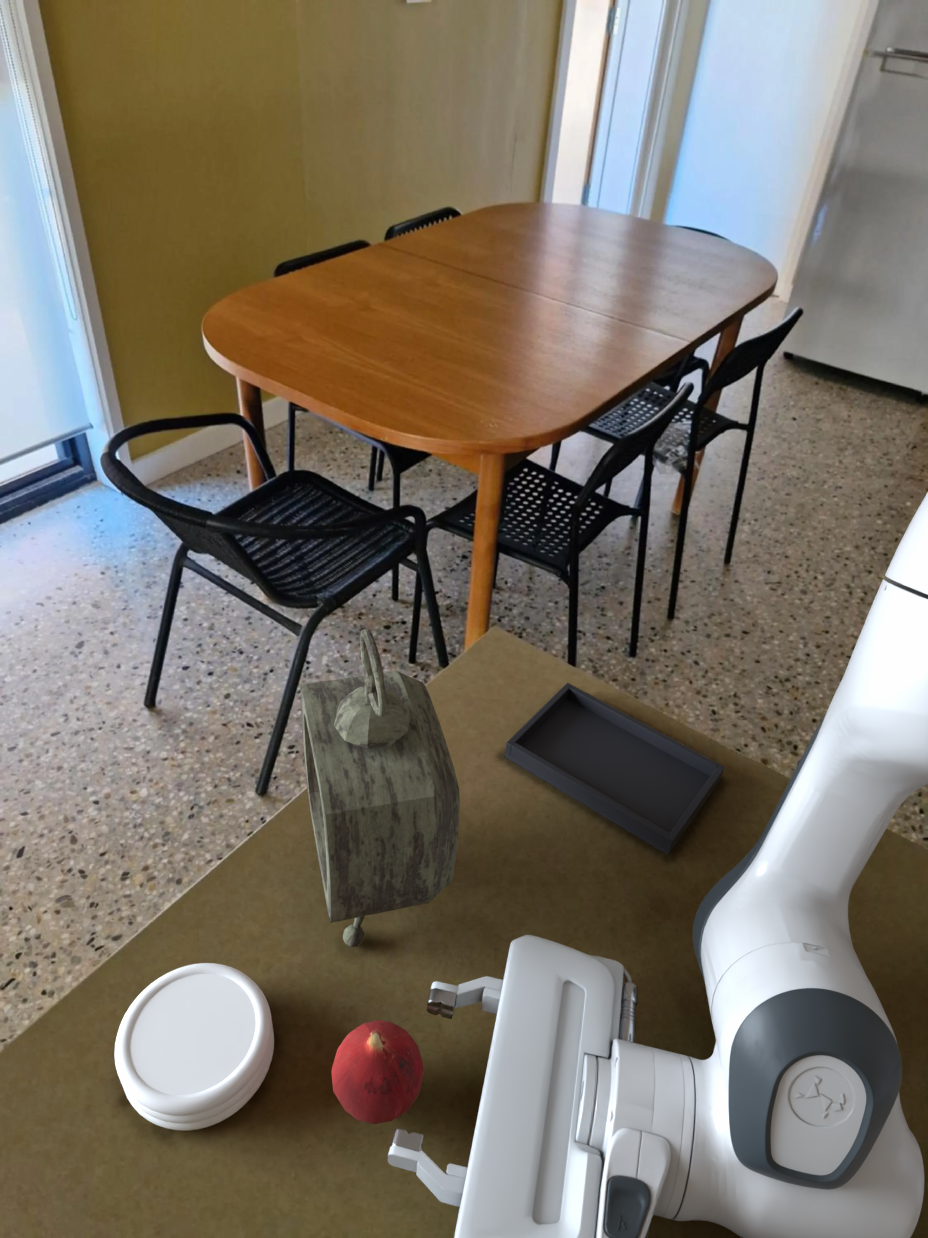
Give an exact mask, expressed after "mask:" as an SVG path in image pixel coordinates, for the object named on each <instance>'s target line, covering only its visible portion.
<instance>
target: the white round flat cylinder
mask: <svg viewBox="0 0 928 1238" xmlns="http://www.w3.org/2000/svg"><path fill="white" fill-rule="evenodd" d="M274 1050H275V1033H274V1027H273V1019H272V1013H271V1009H270V1005H269V1003H268V1000H267V998H266V996H265V993H264V992H263V990H262V989H261V988H260V987H259V985H258V984H257V983H256V981H254V980H253V979H252V978H251V977H249V975H247V974H246V973H244V972H242V971H241V970H239V969H237V968H234V967H232V966H229V965H226V964H221V963H214V962H199V963H193V964H187V965H184V966H181V967H178V968H175V969H173V970H171V971H169V972H167V973H165V974H163V975H162V976H160V977H158V978H157V979H155V980H154V981H153V982H151V983H150V984H149V985H148V986H146V987H145V988H144V989H143V990H142V991H141V992H140V993H139V994H138V995H137V996H136V997H135V999H134V1000H133V1001H132V1003H131V1004H130V1005H129V1007H128V1008H127V1011H126V1012H125V1013H124V1015H123V1018H122V1020H121V1022H120V1024H119V1027H118V1031H117V1034H116V1038H115V1043H114V1054H113V1055H114V1065H115V1069H116V1073H117V1076H118V1078H119V1081H120V1084H121V1086H122V1088H123V1091H124V1094H125V1096H126V1099H127V1100H128V1101H129V1103H130V1105H131V1106H132V1108H133V1109H134V1110H135V1111H136V1112H137V1113H138V1114H139V1116H141V1117H143V1118H144V1119H145V1120H146V1121H148V1122H150V1123H152V1124H154V1125H156V1126H159V1127H162V1128H163V1129H167V1130H173V1131H194V1130H195V1131H196V1130H201V1129H205V1128H209V1127H211V1126H214V1125H216V1124H219V1123H221V1122H223V1121H225V1120H227V1119H229V1118H230V1117H231V1116H233V1115H235V1114H236V1113H237V1112H239V1110H240V1109H242V1108H243V1107H244V1106H245V1105H246V1104H247V1103H248V1102H249V1101H250V1100H251V1099H252V1098H253V1097H254V1095H255V1094H256V1092H257V1091H258V1090H259V1088H260V1087H261V1085H262V1083H263V1082H264V1080H265V1078H266V1076H267V1074H268V1072H269V1070H270V1066H271V1063H272V1060H273V1055H274Z"/></svg>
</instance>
